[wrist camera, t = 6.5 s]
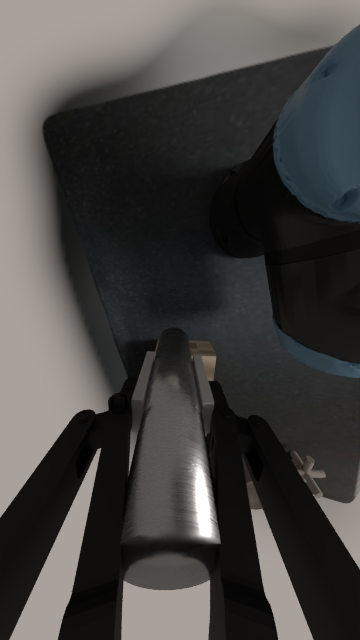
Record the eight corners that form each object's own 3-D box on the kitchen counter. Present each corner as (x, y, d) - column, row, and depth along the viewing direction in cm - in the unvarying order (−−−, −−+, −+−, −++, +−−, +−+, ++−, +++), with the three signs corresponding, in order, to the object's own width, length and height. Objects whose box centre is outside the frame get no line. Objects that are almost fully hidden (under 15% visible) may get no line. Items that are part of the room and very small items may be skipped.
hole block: (158, 339, 39) (154, 354, 33) (209, 341, 40) (216, 356, 33) (157, 413, 46) (154, 438, 39) (201, 414, 46) (205, 439, 40)
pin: (159, 326, 22) (106, 528, 5) (189, 328, 22) (236, 528, 5) (158, 353, 24) (112, 590, 6) (187, 355, 24) (218, 589, 7)
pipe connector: (304, 464, 53) (331, 508, 44) (272, 463, 53) (293, 507, 43) (314, 441, 50) (346, 482, 41) (281, 440, 50) (305, 481, 40)
